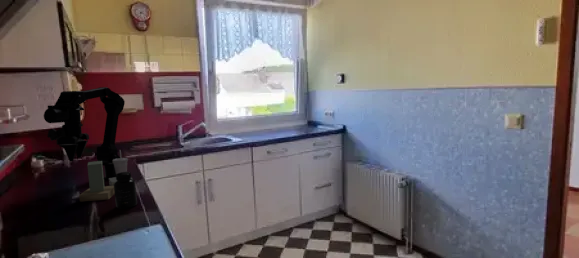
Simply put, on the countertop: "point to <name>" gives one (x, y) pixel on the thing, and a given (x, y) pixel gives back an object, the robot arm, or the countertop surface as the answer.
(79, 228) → the countertop surface
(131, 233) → the countertop surface
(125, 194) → the supplement bottle
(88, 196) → the oak block
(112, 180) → the grey tile block
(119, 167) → the smoothie
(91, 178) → the sage block
